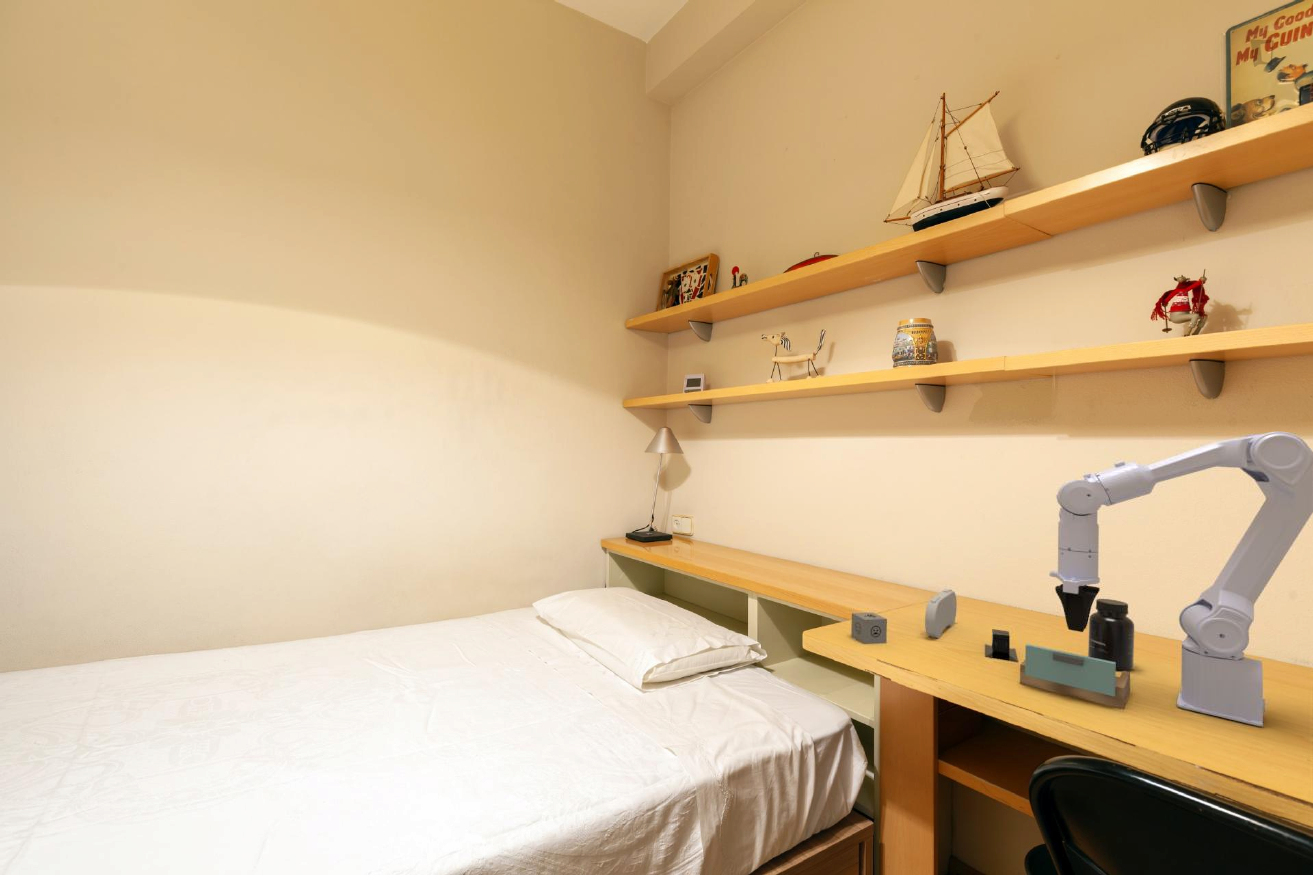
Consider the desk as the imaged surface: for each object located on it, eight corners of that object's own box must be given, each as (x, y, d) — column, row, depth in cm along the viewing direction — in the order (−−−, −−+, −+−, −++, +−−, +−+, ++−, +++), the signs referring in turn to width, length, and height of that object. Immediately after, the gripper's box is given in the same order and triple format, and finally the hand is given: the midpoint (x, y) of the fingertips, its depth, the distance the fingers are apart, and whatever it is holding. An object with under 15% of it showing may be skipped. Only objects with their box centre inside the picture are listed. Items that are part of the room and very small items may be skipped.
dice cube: (886, 643, 122) (886, 618, 123) (864, 644, 121) (865, 619, 121) (872, 635, 127) (872, 612, 127) (851, 636, 126) (851, 613, 126)
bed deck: (1130, 691, 100) (1130, 672, 100) (1123, 709, 93) (1123, 688, 93) (1032, 668, 109) (1033, 651, 109) (1019, 683, 102) (1020, 664, 102)
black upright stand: (1023, 668, 111) (1023, 643, 111) (979, 660, 115) (979, 636, 115) (1019, 650, 122) (1019, 627, 122) (978, 643, 126) (979, 621, 126)
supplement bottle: (1085, 664, 113) (1086, 600, 113) (1090, 656, 118) (1091, 595, 118) (1132, 674, 108) (1132, 608, 108) (1135, 665, 113) (1136, 601, 113)
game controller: (945, 621, 141) (946, 585, 141) (956, 623, 139) (957, 587, 140) (923, 639, 126) (923, 600, 126) (934, 642, 124) (935, 602, 124)
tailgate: (1115, 694, 93) (1115, 662, 93) (1114, 697, 92) (1114, 664, 92) (1026, 673, 101) (1026, 643, 101) (1024, 675, 100) (1024, 645, 100)
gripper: (1058, 543, 111) (1057, 616, 111) (1042, 550, 100) (1040, 632, 100) (1105, 547, 106) (1104, 624, 106) (1093, 556, 96) (1092, 642, 95)
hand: (1077, 629), depth 103 cm, fingers closed
